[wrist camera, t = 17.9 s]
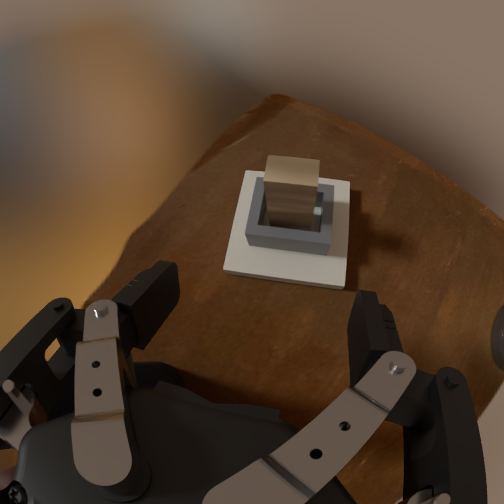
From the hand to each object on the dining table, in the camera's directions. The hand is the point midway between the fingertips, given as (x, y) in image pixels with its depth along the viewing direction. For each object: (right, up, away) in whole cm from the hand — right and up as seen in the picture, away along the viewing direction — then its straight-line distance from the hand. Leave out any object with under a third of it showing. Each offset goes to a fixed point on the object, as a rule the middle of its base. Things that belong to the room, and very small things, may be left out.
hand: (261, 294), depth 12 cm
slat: (+4, +5, +17) cm, 18 cm away
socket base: (+4, +4, +18) cm, 19 cm away
